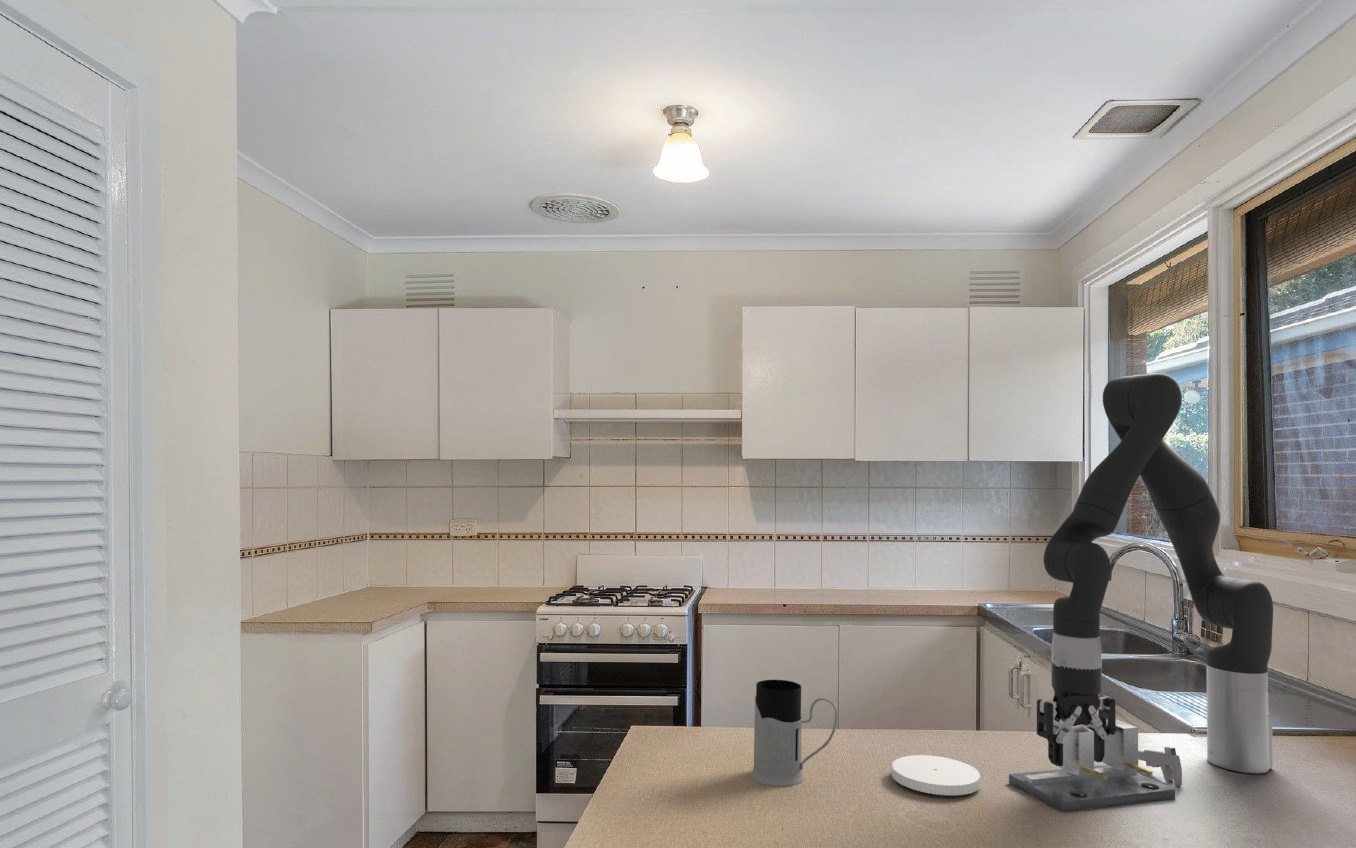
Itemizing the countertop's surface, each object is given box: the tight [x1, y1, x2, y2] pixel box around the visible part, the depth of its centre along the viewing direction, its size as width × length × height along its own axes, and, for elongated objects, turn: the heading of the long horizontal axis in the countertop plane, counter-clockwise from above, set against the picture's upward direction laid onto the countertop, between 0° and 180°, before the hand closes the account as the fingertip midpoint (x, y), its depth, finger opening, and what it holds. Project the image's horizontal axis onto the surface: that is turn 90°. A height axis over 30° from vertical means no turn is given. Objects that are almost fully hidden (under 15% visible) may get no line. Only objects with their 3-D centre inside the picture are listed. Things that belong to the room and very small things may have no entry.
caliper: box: [1138, 746, 1183, 787], centre depth 150 cm, size 20×1×6 cm, turn 12°
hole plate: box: [1008, 764, 1176, 813], centre depth 137 cm, size 22×12×2 cm, turn 107°
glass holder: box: [750, 679, 838, 788], centre depth 140 cm, size 9×14×15 cm, turn 70°
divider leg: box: [1058, 725, 1107, 780], centre depth 137 cm, size 3×8×7 cm, turn 17°
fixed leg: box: [1102, 719, 1154, 776], centre depth 140 cm, size 3×8×7 cm, turn 17°
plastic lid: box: [891, 754, 982, 797], centre depth 139 cm, size 14×14×2 cm
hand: (1076, 762), depth 139 cm, fingers open, 7 cm apart
